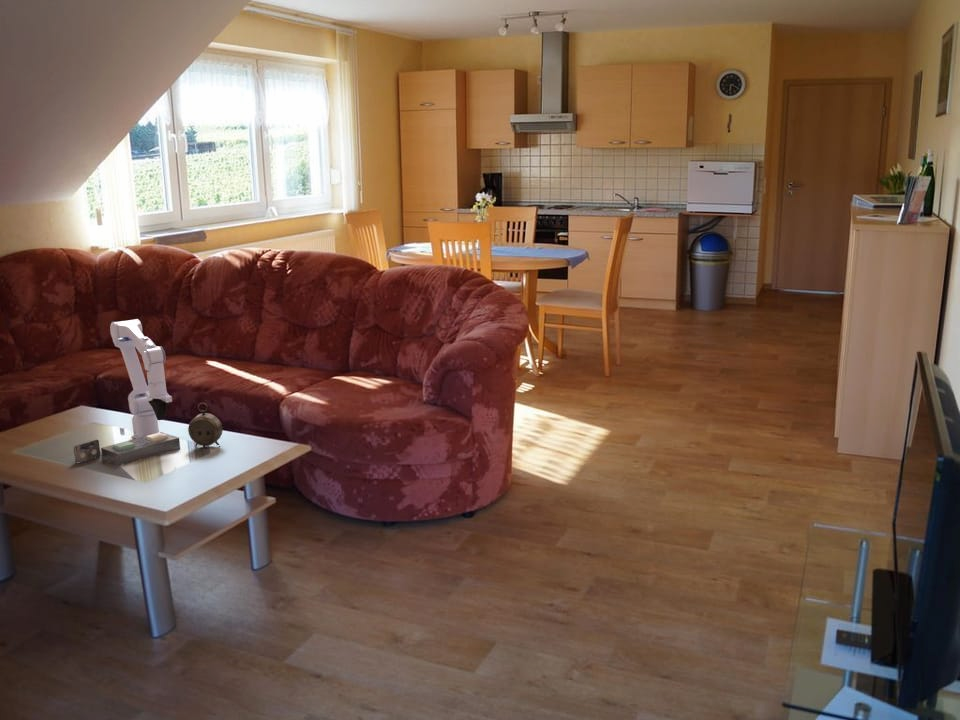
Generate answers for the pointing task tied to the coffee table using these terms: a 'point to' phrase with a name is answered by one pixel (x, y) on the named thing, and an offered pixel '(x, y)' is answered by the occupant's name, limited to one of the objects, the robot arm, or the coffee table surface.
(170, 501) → the coffee table surface
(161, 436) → the white key
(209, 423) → the alarm clock
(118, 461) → the key housing
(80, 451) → the mini dv tape
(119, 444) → the teal key
